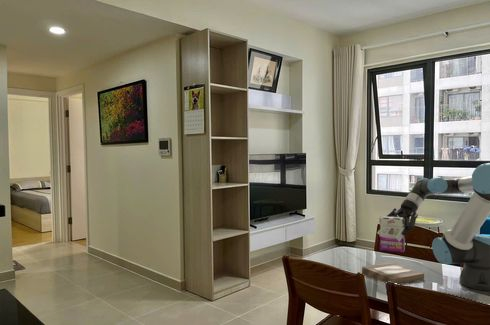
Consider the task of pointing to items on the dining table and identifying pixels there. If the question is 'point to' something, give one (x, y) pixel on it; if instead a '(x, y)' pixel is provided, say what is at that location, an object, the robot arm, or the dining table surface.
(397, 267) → the walnut plinth
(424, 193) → the robot arm
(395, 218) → the candy bar box
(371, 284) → the dining table surface
